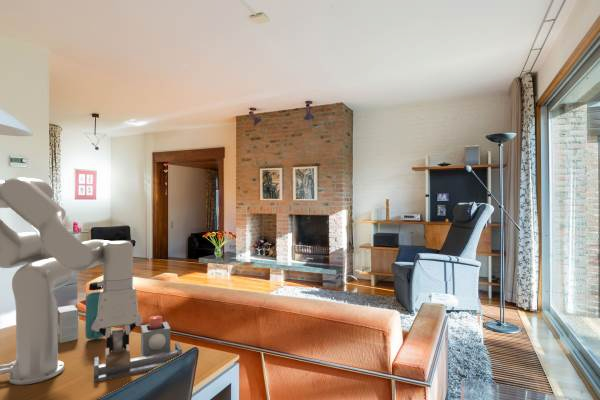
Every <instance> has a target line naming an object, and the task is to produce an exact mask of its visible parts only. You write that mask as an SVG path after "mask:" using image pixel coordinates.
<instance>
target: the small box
mask: <svg viewBox="0 0 600 400" xmlns="http://www.w3.org/2000/svg"><path fill="white" fill-rule="evenodd" d="M78 339H79V309H78V308H77V306H76V305H74V304H70V305H65V306H58V344H62V343H66V342H67V343H68V342H71V341H75V340H78Z"/></svg>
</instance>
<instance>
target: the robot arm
mask: <svg viewBox="0 0 600 400" xmlns="http://www.w3.org/2000/svg"><path fill="white" fill-rule="evenodd" d="M53 196H54V192H53V188H52V187H51V186H50V185H49V183H47V182H46V181H44V180H43V179H39V178H29V177H12V178H10V179H0V209H8V208H9V209H11V210H12V211H14V212H15V213H16V214H17V215H18V216H19V217H21V219H23V220H24V221H25V222H27V224H29V226H31V227H32V228H33V229H35V230H36V231H37V232H34V231H23V232H16V231H15V230H13V229H12V228H11V227H9V226H8V225H7V224H6V223H5V222H4V220H2V219H1V218H0V268H2V269H12V268H17V267H20V268H18V269H17V270H16V272H14V274H13V276H12V280H11V288H12V293H13V296H14V302H15V323H16V324H15V325H16V326H15V360H13V361H11V362H10V363H6V364H5V363H3V364H0V375H5V374H8V382H9V383H10V384H13V385H30V384H31V385H32V384H37V383H40V382H43V381H46V380H49V379H51V378H54V377H56V376H57V375H59V374H61V373H62V372H63V371H64V369H65V363H64V361H62V360H60V359H59V341H58V307H59V306H58V301H57V298H56V295H55V290H57V289H59V288H62V287H64V286H66V285H67V284H68V283H70V282H71V281H72V279H73V278H74V276H75V272H81V271H85V270H88V269H91V268H93V267H94V268H95V267H97V266H100V265H102V267H103V270H102V272H103V276H102V279H103V280H101V281H97V282H98V283H97V287H102V289H100V295H99V302H98V316H97V318H96V320H95V321H94V323H93V325H92V327H91V329H92V330H94V331H97V332H100V333H101V334H103V335H104V336H103V337H105V338H106V339H105V340H106V342H105V344H106V346H105V349H107V348H109V352H111V351H112V328H116V327H122V326H124V349H126V348H127V345H130V334H131V332H132V331H133V330H134V329H135V328H137V326H139V325H141V324H142V323H144V320H143V318H142V315H140V313H139V308H138V307H139V305H138V293H137V289H136V287H135V286H134V285H133V284H134V282H133V281H134V279H133V278H134V277H133V276H134V275H133V274H134V246H133V242H131V241H129V240H104V239H90V240H85V241H80V240H79V239H78V238H77V237H75V236H74V235H73V234H72V233H71V232H70V231H69V230H68V229H67V228H66V226H65V224H64V219H65V217H66V214H67V213H66V210H65V209H64V208H63V207H62V206H61V205H60V204H59V203H57V202H56V201H55V200H53ZM105 328H106V329H105Z"/></svg>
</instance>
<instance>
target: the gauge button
mask: <svg viewBox="0 0 600 400" xmlns="http://www.w3.org/2000/svg"><path fill="white" fill-rule="evenodd" d="M162 322H163V316H162V315H152V316H150V317H148V325H149V329H158V328H161V327H162Z"/></svg>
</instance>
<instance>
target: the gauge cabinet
mask: <svg viewBox="0 0 600 400" xmlns="http://www.w3.org/2000/svg"><path fill="white" fill-rule="evenodd" d="M140 351H141V357H142V356H148V355H153V354H158V353H163V352H168V351H171V327H170V324H169V323H168V321H162V327H161V328H158V329H149V324H144V325H141V326H140Z"/></svg>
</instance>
